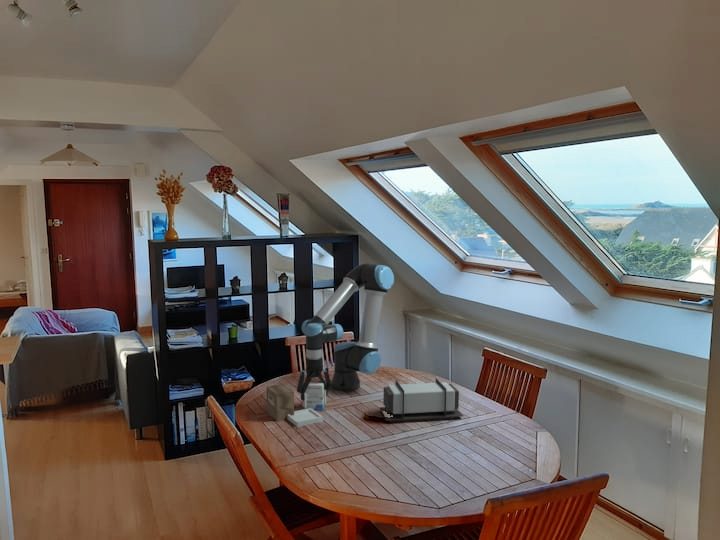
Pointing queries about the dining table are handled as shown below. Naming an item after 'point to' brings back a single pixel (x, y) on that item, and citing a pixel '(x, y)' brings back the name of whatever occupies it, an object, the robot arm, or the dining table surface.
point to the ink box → (315, 396)
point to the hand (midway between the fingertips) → (314, 404)
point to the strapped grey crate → (421, 402)
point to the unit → (280, 401)
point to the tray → (305, 417)
